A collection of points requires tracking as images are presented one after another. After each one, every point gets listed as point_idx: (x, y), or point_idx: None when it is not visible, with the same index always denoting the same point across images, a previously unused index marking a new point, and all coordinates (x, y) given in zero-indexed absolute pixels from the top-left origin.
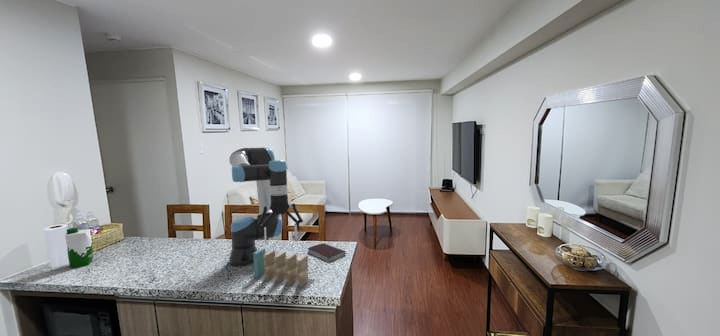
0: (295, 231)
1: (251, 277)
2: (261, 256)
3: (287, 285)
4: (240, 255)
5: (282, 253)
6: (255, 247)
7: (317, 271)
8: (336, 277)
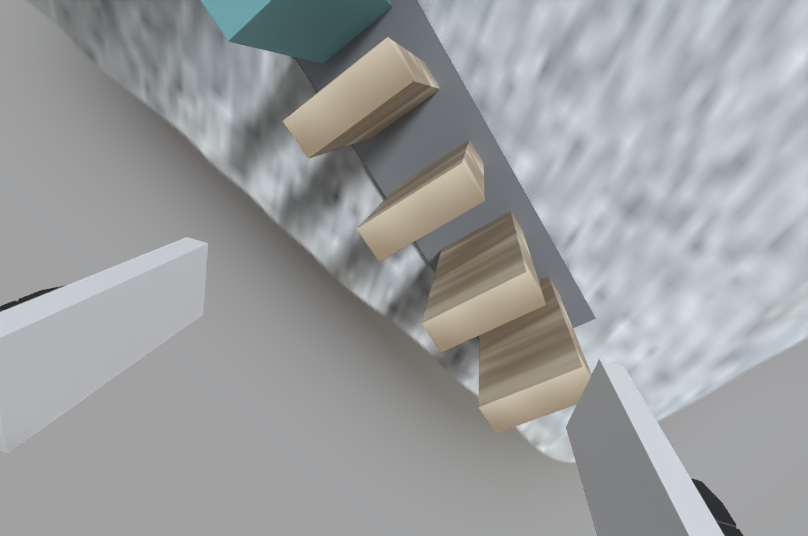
0: (593, 518)
1: None
2: (305, 4)
3: None
4: None
5: (445, 211)
6: None
7: (688, 224)
8: (714, 361)
